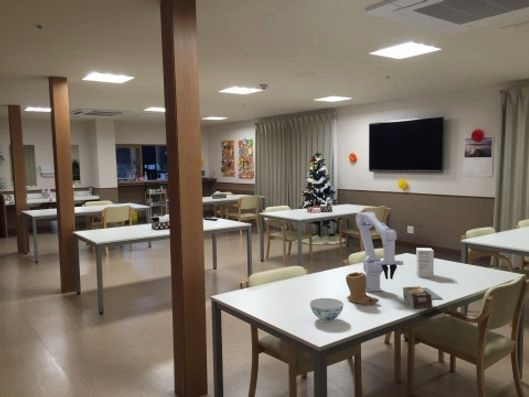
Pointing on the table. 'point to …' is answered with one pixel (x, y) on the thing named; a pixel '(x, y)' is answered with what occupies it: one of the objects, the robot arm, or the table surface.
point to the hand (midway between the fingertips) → (388, 278)
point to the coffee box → (417, 297)
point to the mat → (432, 294)
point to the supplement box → (424, 262)
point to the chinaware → (326, 308)
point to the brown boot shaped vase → (359, 289)
